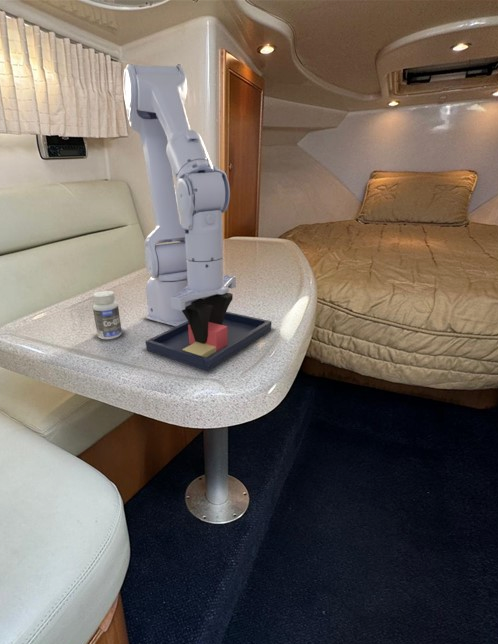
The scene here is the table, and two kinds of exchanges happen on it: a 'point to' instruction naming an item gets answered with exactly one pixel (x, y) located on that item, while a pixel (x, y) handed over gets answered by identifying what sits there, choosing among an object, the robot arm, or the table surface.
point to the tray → (238, 336)
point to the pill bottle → (106, 315)
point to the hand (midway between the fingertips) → (207, 338)
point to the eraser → (213, 335)
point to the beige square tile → (201, 349)
